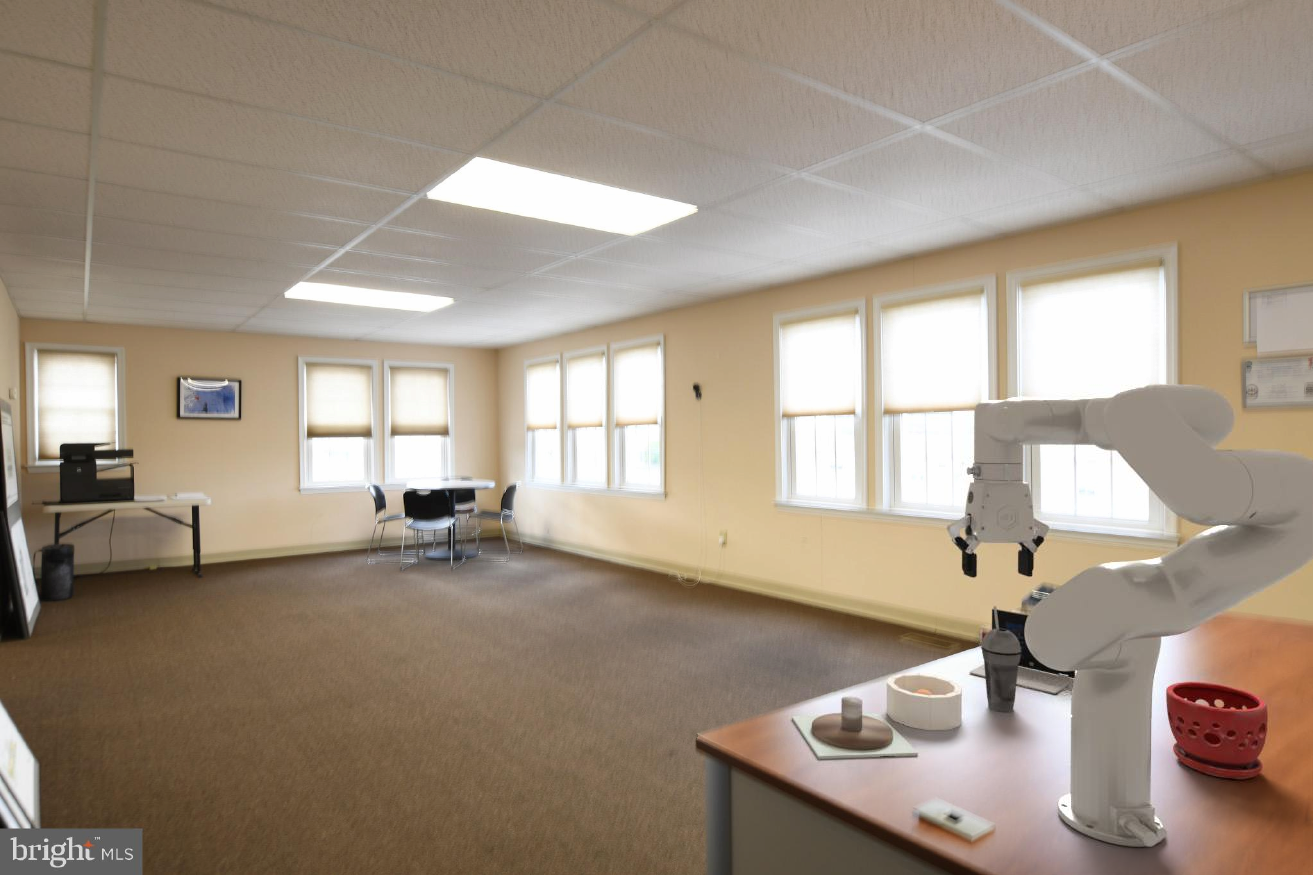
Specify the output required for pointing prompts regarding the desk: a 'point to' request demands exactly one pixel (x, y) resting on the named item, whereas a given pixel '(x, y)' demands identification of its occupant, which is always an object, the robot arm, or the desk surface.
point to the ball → (923, 692)
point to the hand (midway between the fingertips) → (997, 575)
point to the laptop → (1029, 659)
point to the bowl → (924, 701)
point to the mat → (830, 752)
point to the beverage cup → (1001, 667)
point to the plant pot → (1217, 728)
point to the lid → (852, 728)
